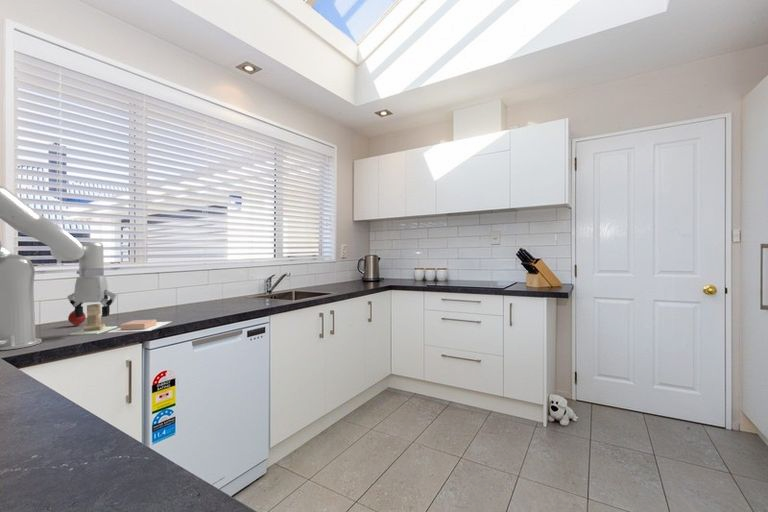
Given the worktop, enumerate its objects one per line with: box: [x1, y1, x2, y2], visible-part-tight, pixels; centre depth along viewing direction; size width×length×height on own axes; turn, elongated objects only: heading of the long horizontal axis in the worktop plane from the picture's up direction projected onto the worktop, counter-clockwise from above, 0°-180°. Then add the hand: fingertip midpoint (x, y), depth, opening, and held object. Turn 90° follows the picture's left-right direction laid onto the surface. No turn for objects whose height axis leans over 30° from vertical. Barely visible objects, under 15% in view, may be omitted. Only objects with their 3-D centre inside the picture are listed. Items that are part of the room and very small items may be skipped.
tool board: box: [68, 325, 118, 336], centre depth 144 cm, size 12×10×1 cm
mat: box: [108, 321, 171, 333], centre depth 150 cm, size 18×16×1 cm
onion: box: [67, 309, 87, 327], centre depth 159 cm, size 6×6×8 cm
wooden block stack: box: [83, 303, 106, 331], centre depth 144 cm, size 3×6×10 cm, turn 95°
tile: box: [120, 319, 158, 330], centre depth 148 cm, size 2×9×9 cm
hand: (92, 316), depth 143 cm, fingers open, 9 cm apart
